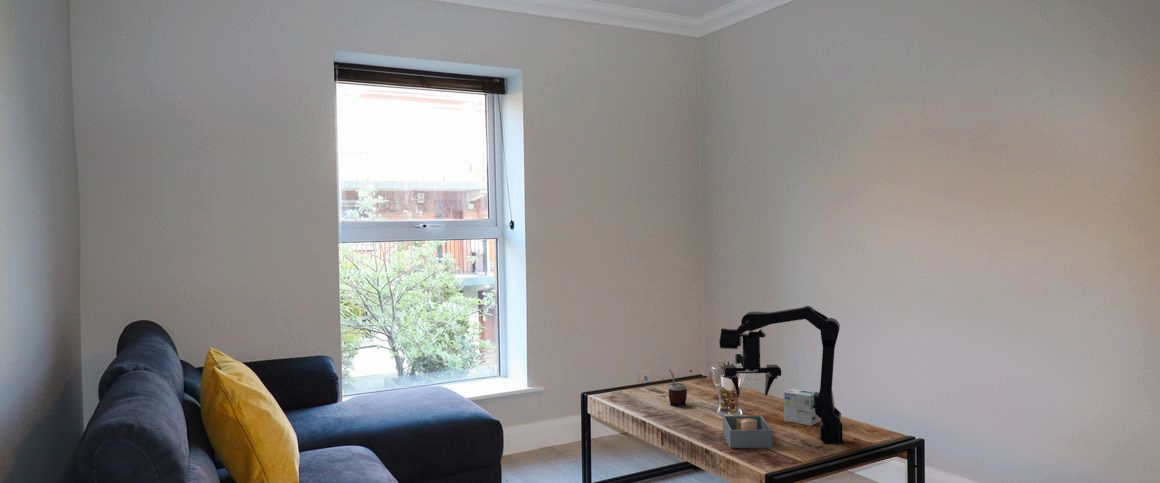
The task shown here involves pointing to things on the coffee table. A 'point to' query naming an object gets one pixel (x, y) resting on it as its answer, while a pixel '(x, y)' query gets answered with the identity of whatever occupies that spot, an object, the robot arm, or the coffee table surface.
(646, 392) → the coffee table surface
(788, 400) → the light bulb box
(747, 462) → the coffee table surface
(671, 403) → the mate gourd
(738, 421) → the walnut cube
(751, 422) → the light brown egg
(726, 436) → the box
